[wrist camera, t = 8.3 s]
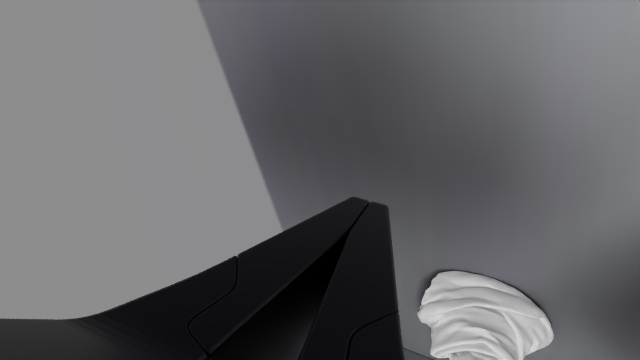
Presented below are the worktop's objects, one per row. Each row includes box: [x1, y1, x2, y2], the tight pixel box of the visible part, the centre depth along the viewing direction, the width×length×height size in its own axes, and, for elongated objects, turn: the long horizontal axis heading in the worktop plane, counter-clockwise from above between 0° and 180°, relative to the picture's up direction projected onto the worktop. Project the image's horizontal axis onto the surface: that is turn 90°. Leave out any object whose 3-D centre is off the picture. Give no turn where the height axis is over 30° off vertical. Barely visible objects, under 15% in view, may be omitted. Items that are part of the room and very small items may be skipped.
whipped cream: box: [417, 271, 554, 360], centre depth 24 cm, size 8×7×5 cm
